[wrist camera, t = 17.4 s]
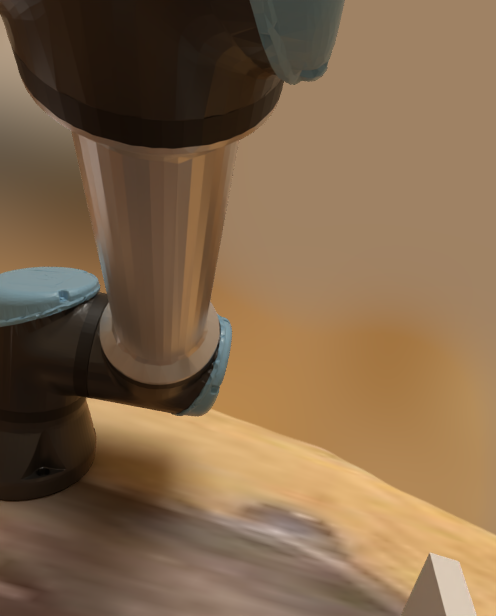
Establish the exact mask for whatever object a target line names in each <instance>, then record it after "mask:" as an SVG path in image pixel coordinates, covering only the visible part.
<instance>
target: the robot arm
mask: <svg viewBox="0 0 496 616" xmlns="http://www.w3.org/2000/svg"><path fill="white" fill-rule="evenodd" d="M344 1H345V0H0V15H1V17H2V19H3V22H4V25H5V28H6V31H7V35H8V38H9V41H10V43H11V46H12V50H13V53H14V56H15V59H16V63H17V66H18V70H19V73H20V76H21V79H22V81H23V83H24V85H25V88H26V90H27V91H28V93H29V94H30V96H31V97H32V98H33V100H34V101H35V102H36V104H37V105H38V106H39V107H40V108H41V109H42V110H43V111H44V112H45V113H47V114H48V115H49V116H50V117H52V118H53V119H54V120H56V121H57V122H59V123H60V124H61V125H63V126H64V127H66V128H68V129H69V130H71V132H72V137H73V141H74V146H75V150H76V155H77V159H78V164H79V169H80V172H81V178H82V182H83V187H84V191H85V196H86V200H87V205H88V210H89V214H90V219H91V223H92V228H93V232H94V237H95V241H96V246H97V251H98V255H99V259H100V264H101V269H102V273H103V278H104V282H105V287H106V291H107V294H105V293H101V292H99V291H100V284H99V282H98V279H97V278H96V276H95V275H93V274H91V273H87V272H86V271H83V270H79V269H73V268H65V267H33V268H25V269H18V270H13V271H9V272H5V273H2V274H0V499H3V500H25V499H33V498H38V497H43V496H47V495H50V494H53V493H56V492H58V491H60V490H63V489H65V488H67V487H68V486H70V485H72V484H73V483H75V482H76V481H78V480H79V479H80V478H81V477H82V476H83V475H84V474H85V473H86V472H87V471H88V469H89V468H90V466H91V465H92V463H93V460H94V456H95V448H96V433H95V429H94V427H93V423H92V419H91V415H90V411H89V408H88V405H87V401H86V397H87V398H94V399H99V400H104V401H110V402H115V403H120V404H126V405H131V406H136V407H141V408H147V409H152V410H157V411H163V412H168V413H171V414H173V415H176V416H183V415H188V416H202V415H204V414H206V413H207V412H208V411H209V410H210V409H211V408H212V406H213V404H214V402H215V400H216V398H217V396H218V393H219V388H220V387H219V386H220V385H221V383H222V381H223V378H224V375H225V371H226V367H227V363H228V358H229V353H230V347H231V340H232V328H231V325H230V322H229V320H227V319H226V318H224V317H221V316H219V315H218V314H217V313H216V311H215V309H214V307H213V305H212V303H211V302H210V299H211V293H212V288H213V282H214V276H215V270H216V265H217V259H218V253H219V248H220V243H221V237H222V231H223V226H224V220H225V214H226V208H227V203H228V198H229V192H230V187H231V181H232V176H233V170H234V164H235V159H236V153H237V148H238V142H239V140H241V139H243V138H244V137H246V136H248V135H249V134H251V133H252V132H254V131H255V130H257V129H258V128H259V127H260V126H261V125H262V124H264V122H265V121H266V120H267V119H268V118H269V117H270V116H271V114H272V113H273V111H274V109H275V108H276V106H277V103H278V100H279V97H280V94H281V91H282V86H283V83H284V81H285V82H286V83H289V84H293V85H295V84H297V83H299V82H300V81H308V82H309V81H316V80H317V79H319V78H320V77H322V76H323V74H324V73H325V72H326V70H327V64H328V61H329V59H330V56H331V53H332V49H333V47H334V44H335V41H336V37H337V33H338V28H339V24H340V19H341V14H342V10H343V6H344ZM401 616H477V615H476V611H475V608H474V605H473V602H472V599H471V596H470V593H469V590H468V587H467V584H466V581H465V578H464V575H463V572H462V569H461V566H460V563H459V561H456V560H453V559H449V558H446V557H443V556H440V555H436V554H433V553H429V555H428V557H427V560H426V562H425V564H424V566H423V568H422V570H421V573H420V575H419V577H418V579H417V581H416V583H415V586H414V588H413V590H412V592H411V594H410V596H409V599H408V601H407V603H406V605H405V607H404V609H403V612H402V614H401Z"/></svg>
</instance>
